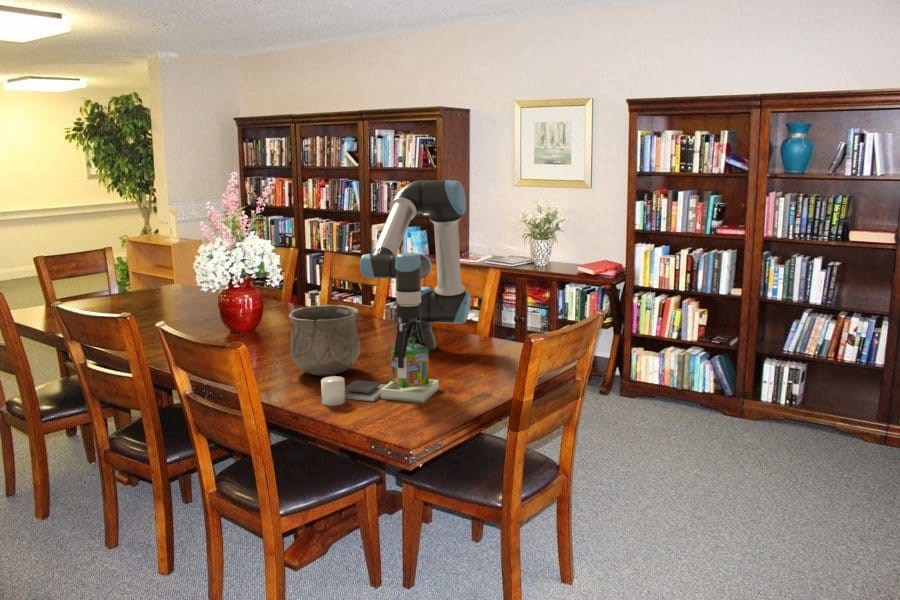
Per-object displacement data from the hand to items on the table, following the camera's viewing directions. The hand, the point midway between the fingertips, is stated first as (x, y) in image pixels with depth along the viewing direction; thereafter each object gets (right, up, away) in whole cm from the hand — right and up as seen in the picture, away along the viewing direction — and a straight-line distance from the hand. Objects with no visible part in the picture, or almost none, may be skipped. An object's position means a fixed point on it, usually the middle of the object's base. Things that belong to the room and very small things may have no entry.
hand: (409, 371), depth 239 cm
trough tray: (0, -7, +1) cm, 7 cm away
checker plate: (-15, -5, +2) cm, 16 cm away
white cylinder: (-23, -9, -6) cm, 25 cm away
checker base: (-15, -7, +3) cm, 17 cm away
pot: (-30, -3, +24) cm, 38 cm away
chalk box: (0, -4, +1) cm, 4 cm away
